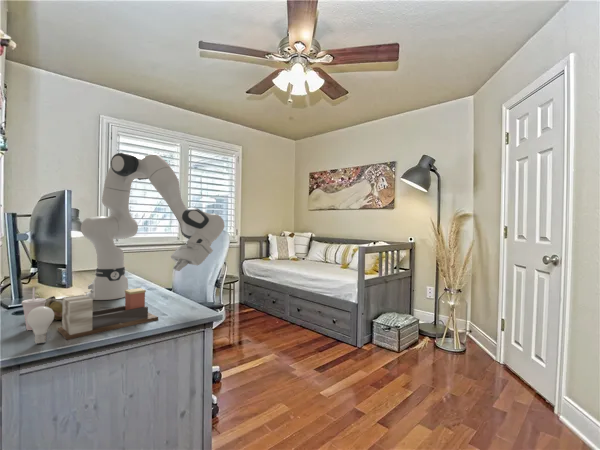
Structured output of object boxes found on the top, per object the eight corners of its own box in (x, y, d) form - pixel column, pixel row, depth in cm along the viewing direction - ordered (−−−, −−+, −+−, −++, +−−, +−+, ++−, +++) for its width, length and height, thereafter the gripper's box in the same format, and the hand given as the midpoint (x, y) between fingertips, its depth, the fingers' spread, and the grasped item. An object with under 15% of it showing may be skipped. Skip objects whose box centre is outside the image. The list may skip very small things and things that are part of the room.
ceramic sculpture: (42, 292, 122) (84, 294, 123) (41, 314, 122) (82, 315, 123) (21, 299, 111) (67, 300, 113) (20, 323, 111) (65, 324, 113)
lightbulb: (38, 348, 89) (38, 310, 89) (20, 346, 91) (20, 308, 90) (59, 340, 95) (59, 304, 95) (42, 338, 97) (42, 303, 97)
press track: (57, 330, 104) (58, 297, 104) (144, 313, 125) (145, 285, 125) (66, 339, 96) (67, 304, 96) (158, 319, 117) (158, 290, 117)
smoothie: (17, 333, 101) (18, 289, 101) (25, 327, 107) (26, 286, 107) (42, 330, 104) (42, 288, 104) (48, 324, 110) (49, 285, 110)
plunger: (124, 316, 116) (124, 290, 116) (139, 313, 120) (139, 287, 120) (129, 319, 113) (130, 292, 113) (145, 316, 117) (145, 290, 117)
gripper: (181, 239, 141) (159, 262, 133) (205, 240, 127) (183, 267, 120) (190, 248, 144) (169, 272, 137) (215, 251, 131) (193, 277, 123)
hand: (175, 269), depth 128 cm, fingers closed
